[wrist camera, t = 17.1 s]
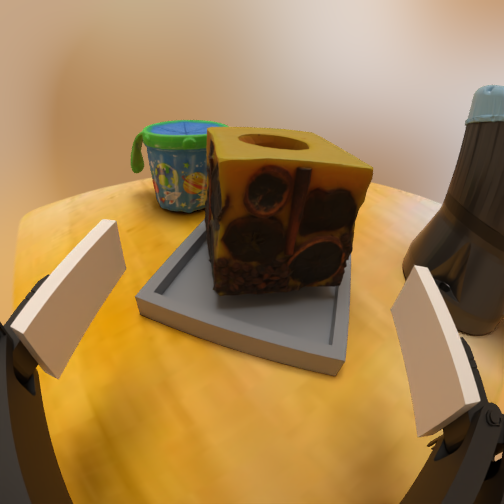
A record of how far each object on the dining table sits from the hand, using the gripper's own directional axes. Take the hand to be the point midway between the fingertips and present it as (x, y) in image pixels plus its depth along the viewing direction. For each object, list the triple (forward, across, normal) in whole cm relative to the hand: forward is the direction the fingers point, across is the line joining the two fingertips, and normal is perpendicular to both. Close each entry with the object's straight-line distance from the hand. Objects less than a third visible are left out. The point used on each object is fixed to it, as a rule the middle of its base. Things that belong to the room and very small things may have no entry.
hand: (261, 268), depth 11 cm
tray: (+9, 0, -9) cm, 13 cm away
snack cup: (+22, -11, -9) cm, 27 cm away
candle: (+11, 0, -7) cm, 13 cm away
